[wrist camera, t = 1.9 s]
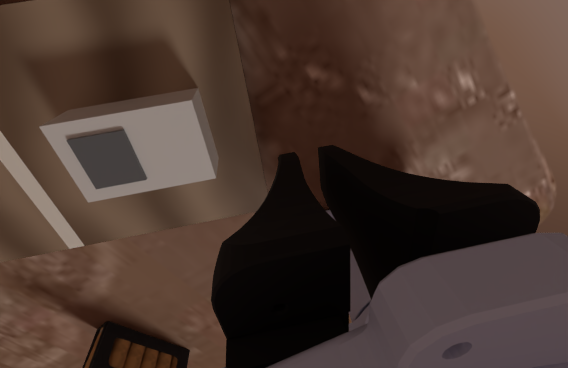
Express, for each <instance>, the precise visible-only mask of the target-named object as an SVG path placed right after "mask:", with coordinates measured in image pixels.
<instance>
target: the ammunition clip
mask: <svg viewBox="0 0 568 368" xmlns="http://www.w3.org/2000/svg"><path fill="white" fill-rule="evenodd" d="M189 352H190V350H188V349H185V348H182V347H180V346H177V345H174V344H171V343H168V342H166V341H163V340H160V339H157V338H154V337H152V336H149V335H146V334H143V333H140V332H138V331H135V330H132V329H129V328H126V327H124V326H121V325H118V324H115V323H112V322H109V321H108V322H106V323H104V324H103V325H102V326H101V327H100V328H99V329H97V331H96V334H95V336H94V339H93V342H92V344H91V347H90V350H89V352H88V355H87V357H86V360H85V363H84V365H83V368H187V363H188V358H189Z"/></svg>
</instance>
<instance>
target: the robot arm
mask: <svg viewBox="0 0 568 368" xmlns="http://www.w3.org/2000/svg"><path fill="white" fill-rule="evenodd" d="M318 154H319V168H320V183H321V189H322V192H323V195H324V198H325V200H326V203H327V205H328V207H329V209H330V210H326V211H325V210H324V208H323V207H322V206H321V205H320V204H319V202H318V201H317V199H316V198H315V197H314V195H313V194H312V192H311V190H310V189H309V187H308V185H307V183H306V181H305V179H304V175H303V172H302V168H301V165H300V161H299V158H298V156H297V155H296V153H295V152H292V153H287V154H282V155H280V156H279V157H278V161H279V162H278V169H277V172H276V176H275V179H274V181H273V184H272V186H271V189H270V191H269V193H268V195H267V197H266V198H265V200H264V202H263V203H262V205H261V206H260V207H259V209H258V210H257V212H256V213H255V214H254V215H253V217H252V218H251V219H250V220H249V221H248V222H247V223H246V224H245V225H244V226H243V227H242V228H240V229H239V230H238V231H237V232H235V233H234V234H233V235H232V236H230V237H229V238H228V239H227V240H225V241H224V242H223V243H222V245H221V248H220V251H219V254H218V258H217V262H216V266H215V270H214V275H213V284H212V296H211V302H212V306H213V310H214V312H215V314H216V317H217V319H218V321H219V323H220V325H221V328H222V330H223V332H224V334H225V336H226V338H227V342H226V367H224V368H568V236H566V235H565V234H563V233H535V232H536V230H537V227H538V224H539V221H540V209H539V207H538V205H537V203H536V202H535V201H533V200H532V199H530V198H529V197H527V196H526V195H524V194H523V193H521V192H520V191H518V190H516V189H515V188H513V187H512V186H510V185H508V184H496V183H471V182H460V181H450V180H442V179H435V178H429V177H423V176H418V175H413V174H409V173H405V172H401V171H397V170H394V169H390V168H387V167H384V166H381V165H378V164H376V163H373V162H370V161H368V160H365V159H363V158H361V157H358V156H356V155H354V154H352V153H350V152H347V151H345V150H343V149H341V148H339V147H336V146H333V145H330V146H324V147H319V148H318ZM349 315H350V318H351V321H352V323H350V324H349Z"/></svg>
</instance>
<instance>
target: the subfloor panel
mask: <svg viewBox="0 0 568 368" xmlns="http://www.w3.org/2000/svg"><path fill="white" fill-rule="evenodd" d="M194 88H198V89H199V93H200V96H201V100H202V103H203V106H204V110H205V113H206V117H207V120H208V123H209V127H210V130H211V134H212V137H213V140H214V144H215V147H216V151H217V154H218V167H217V175H216V178H215V179H210V180H205V181H200V182H194V183H189V184H184V185H179V186H173V187H168V188H163V189H157V190H152V191H147V192H142V193H136V194H131V195H126V196H121V197H115V198H110V199H105V200H100V201H94V202H89V203H88V202H87V200H86V198H85V197H84V195H83V194H82V192H81V191H80V189H79V188H78V186H77V185H76V183H75V181H74V180H73V178H72V177H71V175H70V174H69V172H68V171H67V169H66V168H65V166H64V164H63V163H62V161H61V160H60V158H59V157H58V155H57V154H56V152H55V151H54V149H53V147H52V146H51V144H50V143H49V141H48V140H47V138H46V137H45V135H44V134H43V132H42V130H41V129H40V127H39V126H41V125H43V124H45V123H46V122H48V121H50V120H52V119H53V118H55V117H57V116H59V115H60V114H62V113H64V112H66V111H67V110H71V109H77V108H83V107H88V106H94V105H100V104H106V103H112V102H118V101H124V100H129V99H135V98H141V97H147V96H153V95H159V94H165V93H170V92H176V91H182V90H188V89H194ZM267 195H268V192H267V187H266V182H265V177H264V172H263V167H262V162H261V157H260V152H259V147H258V142H257V137H256V132H255V127H254V122H253V117H252V112H251V107H250V102H249V97H248V92H247V87H246V82H245V77H244V72H243V67H242V62H241V57H240V52H239V47H238V42H237V37H236V32H235V27H234V22H233V17H232V12H231V7H230V2H229V0H32V1H25V2H18V3H11V4H4V5H0V262H5V261H10V260H15V259H20V258H25V257H30V256H35V255H40V254H45V253H51V252H56V251H61V250H66V249H71V248H76V247H81V246H86V245H91V244H96V243H101V242H106V241H111V240H116V239H121V238H126V237H131V236H136V235H141V234H146V233H151V232H156V231H161V230H166V229H171V228H176V227H181V226H186V225H191V224H196V223H202V222H207V221H212V220H217V219H222V218H227V217H232V216H237V215H242V214H247V213H252V212H257V210H258V209H259V207H260V206H261V205H262V203H263V202H264V200H265V198H266V197H267Z"/></svg>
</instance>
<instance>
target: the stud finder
mask: <svg viewBox="0 0 568 368" xmlns="http://www.w3.org/2000/svg"><path fill="white" fill-rule="evenodd" d="M39 127H40V129H41V130H42V132H43V134H44V135H45V137H46V138H47V140H48V141H49V143H50V144H51V146H52V147H53V149H54V151H55V152H56V154H57V155H58V157H59V158H60V160H61V161H62V163H63V164H64V166H65V168H66V169H67V171H68V172H69V174H70V175H71V177H72V178H73V180H74V181H75V183H76V185H77V186H78V188H79V189H80V191H81V192H82V194H83V195H84V197H85V198H86V200H87V202H88V203H89V202H94V201H100V200H105V199H110V198H115V197H121V196H126V195H131V194H136V193H142V192H147V191H152V190H157V189H163V188H168V187H173V186H179V185H184V184H189V183H194V182H200V181H205V180H210V179H215V178H216V175H217V167H218V154H217V151H216V147H215V144H214V140H213V137H212V134H211V130H210V127H209V123H208V120H207V117H206V113H205V110H204V106H203V103H202V100H201V96H200V93H199V89H198V88H194V89H188V90H182V91H176V92H170V93H165V94H159V95H153V96H147V97H141V98H135V99H129V100H124V101H118V102H112V103H106V104H100V105H94V106H88V107H83V108H77V109H71V110H67V111H66V112H64V113H62V114H60V115H59V116H57V117H55V118H53V119H52V120H50V121H48V122H46V123H45V124H43V125H41V126H39Z"/></svg>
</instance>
